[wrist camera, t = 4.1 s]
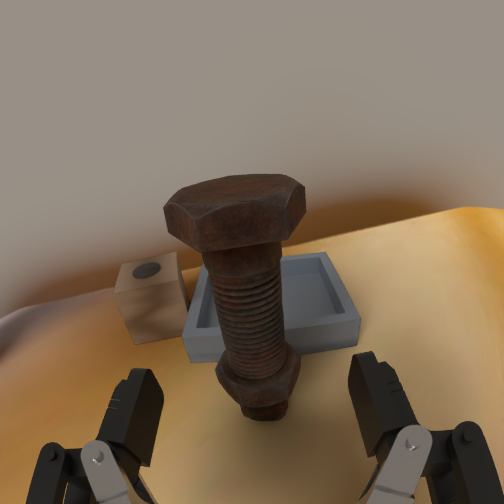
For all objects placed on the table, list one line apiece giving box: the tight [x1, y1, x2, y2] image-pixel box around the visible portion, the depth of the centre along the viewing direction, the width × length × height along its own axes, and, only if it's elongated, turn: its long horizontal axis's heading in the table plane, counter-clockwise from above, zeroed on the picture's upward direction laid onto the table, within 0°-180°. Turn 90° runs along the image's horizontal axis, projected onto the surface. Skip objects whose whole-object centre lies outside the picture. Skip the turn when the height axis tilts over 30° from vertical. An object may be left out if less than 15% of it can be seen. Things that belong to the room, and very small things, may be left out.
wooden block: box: [113, 252, 190, 345], centre depth 26 cm, size 6×6×6 cm
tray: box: [182, 252, 361, 363], centre depth 26 cm, size 14×12×3 cm
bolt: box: [163, 174, 306, 421], centre depth 14 cm, size 6×5×15 cm
